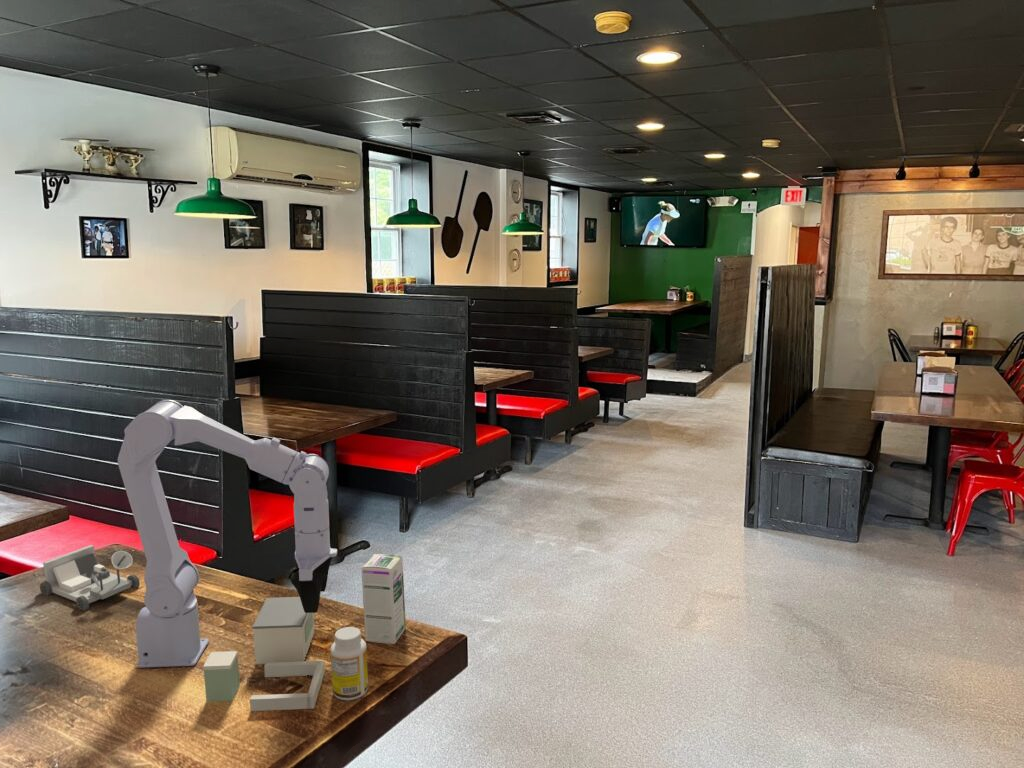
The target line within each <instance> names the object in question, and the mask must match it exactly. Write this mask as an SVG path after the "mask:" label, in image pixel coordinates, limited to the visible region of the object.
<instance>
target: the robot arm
mask: <svg viewBox="0 0 1024 768" xmlns="http://www.w3.org/2000/svg"><path fill="white" fill-rule="evenodd" d="M172 440H174V443H173V444H174V446H181V445H186V444H190V443H195V442H200V443H202V444H205V445H207V446H210V447H213V448H215V449H218V450H221V451H223V452H226V453H228V454H231V455H234V456H236V457H239V458H242V459H244V461H245V462H246V464H247V466H248V468H249V470H251V471H254V472H256V473H259V474H261V475H263V476H265V477H268V478H269V479H272V480H274V481H275V482H278V483H280V484H281V483H282V484H284V485H286V486H287V485H288V486H289V488H290V491H291V493H293V497H294V500H293V501H294V502H293V517H294V520H293V521H294V540H295V541H294V542H295V543H294V544H295V551H294V559H295V561H296V564H297V566H298V568H299V569H298V572H292V573H291V576H290V582H291V584H292V586H294V588H295V589H296V591H297V594H298V595H299V596H298V597H300V599H301V603H302V606H303V609H304V612H305V613H314V614H315V613H316V614H317V613H318V611H319V607H320V599H321V592H326V588H327V583H328V575H329V570H330V566H331V562H332V560H333V558H335V557H337V555H338V549H337V548H333V547H331V541H330V540H331V538H330V535H331V534H330V511H329V510H330V509H329V499H328V487H327V481H328V478H329V475H330V468H329V465H328V462H327V461H326V460H324V458H323V457H321V456H319V455H318V454H315V453H307V452H305V451H303V450H301V451H300V452H299V451H297V450H294V449H292V448H290V447H287V446H285V445H283V444H281V439H279V438H276V437H272V438H271V439H269V438H267V437H264V438H260V439H257V440H254V439H252V438H250V437H249V436H246V435H244V434H242V433H240V432H239V431H236V430H234V429H232V428H230V427H229V426H227V425H224V424H222V423H220V422H218V421H216V420H215V419H213V418H211V417H210V416H207V415H204V414H203V413H201V412H199V411H198V409H197V410H196V409H195V408H194V407H192V406H188V405H184V406H183V405H182V403H180V402H178V401H176V400H171V399H163V400H160V401H157V402H156V403H155V404H154V405H152V406H151V407H150V408H148V409H147V410H146V411H144V412H141V413H139V414H137V416H135V417H134V418H133V420H131V422H130V423H128V425H127V426H126V427H125V429H124V437H123V441H122V444H121V447H120V450H119V453H118V456H117V465H118V469H119V472H120V476H121V478H122V482H123V486H124V489H125V492H126V495H127V498H128V502H129V505H130V508H131V511H132V515H133V519H134V522H135V526H136V529H137V533H138V535H139V536H138V537H139V538H140V542H141V545H142V549H143V552H144V555H145V558H146V566H145V571H144V577H143V578H144V579H143V581H144V584H145V593H144V596H143V598H144V599H143V602H144V605H145V606H144V607H142V608H141V609H140V611H139V612H138V615H137V617H136V621H135V639H136V647H137V656H138V657H137V658H138V663H136V664H137V666H136V667H137V668H140V669H141V668H163V667H164V668H169V667H170V668H171V667H191V666H196V664H197V662H198V661H199V659H200V657H201V656H202V654H203V652H204V651H205V649H206V647H207V646H208V644H209V642H210V639H208V638H201V633H200V632H201V631H200V621H199V620H200V619H199V618H200V617H199V609H198V599H197V597H196V596H195V595H196V594H195V592H194V591H195V590H194V589H195V588H196V587H197V585H198V583H199V581H200V573H199V570H198V568H197V566H196V565H195V564H194V563H192V561H191V560H190V557H189V555H188V552H187V551H186V550H184V549H183V548H181V547H180V544H179V541H178V537H177V534H176V530H175V525H174V523H173V519H172V516H171V512H170V509H169V506H168V502H167V498H166V494H165V492H164V487H163V483H162V481H161V478H160V474H159V470H158V466H157V464H156V461H157V458H158V457H159V456H160V455H161V454H162V452H163V451H164V450H165V448H166V447H167V446H168V444H169V443H171V441H172Z"/></svg>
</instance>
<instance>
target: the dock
mask: <svg viewBox="0 0 1024 768" xmlns="http://www.w3.org/2000/svg"><path fill="white" fill-rule="evenodd" d="M263 668H264V678H278V677H279V678H280V677H282V678H284V677H303V676H304V677H305V676H306V677H308V676H307V675H309V677H311V676H312V679H311V682H310V685H309V689H308V691H307V692H306V693H305V692H304V693H284V694H282V693H279V694H278V693H277V694H256V695H255V694H254V695H250V698H249V706H250V711H251V712H262V711H263V712H264V711H265V712H267V711H268V712H269V711H286V710H287V711H288V710H289V711H290V710H306V709H307V710H309V709H312V710H313V709H315V706H316V703H317V699H318V696H319V692H320V689H321V686H322V683H323V679H324V676H325V673H326V667H325V660H310V661H309V660H305V661H302V662H276V663H266V664H264V666H263ZM310 675H311V676H310Z"/></svg>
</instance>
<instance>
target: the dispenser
mask: <svg viewBox="0 0 1024 768" xmlns="http://www.w3.org/2000/svg"><path fill="white" fill-rule="evenodd" d="M314 614H315V613H305V612H304V609H303V606H302V603H301V599H300V596H284V597H283V596H282V597H267V598H266V599H265V601H264V602H263V605H262V606H261V609H260V611H259V613H258V614H257V617H256V618H255V620H254V623H253V624H252V626H251V627H252V628H251V629H252V630H253V644H254V659H255V665H265V663H276V662H302V661H304V660H305V661H306V658H305V657H307V655H308V651H309V648H310V647H311V644H310V643H312V641H313V637H314V635H315V618H314V617H315V616H314ZM306 654H307V655H306Z"/></svg>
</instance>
